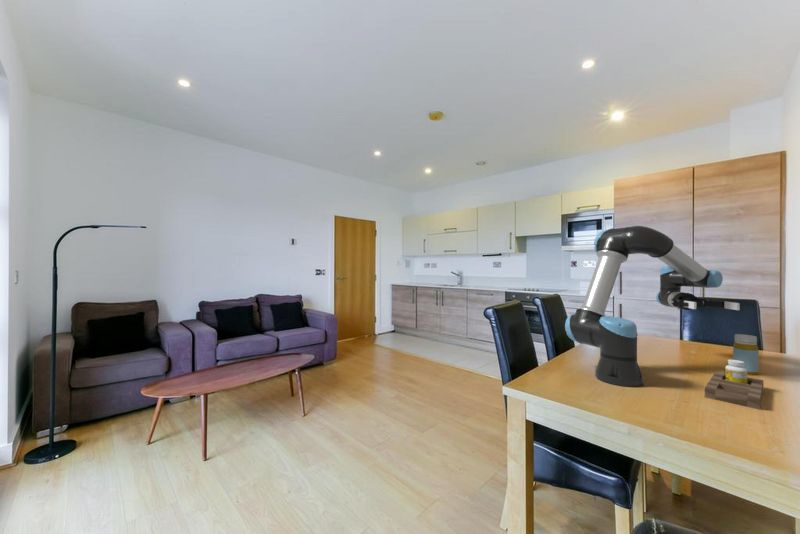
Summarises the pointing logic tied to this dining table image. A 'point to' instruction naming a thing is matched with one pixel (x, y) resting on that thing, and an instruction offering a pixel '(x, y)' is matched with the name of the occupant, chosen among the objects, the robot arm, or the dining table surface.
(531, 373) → the dining table surface
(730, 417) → the dining table surface
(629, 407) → the dining table surface
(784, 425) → the dining table surface
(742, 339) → the bottle
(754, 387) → the slot rack
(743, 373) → the supplement bottle
